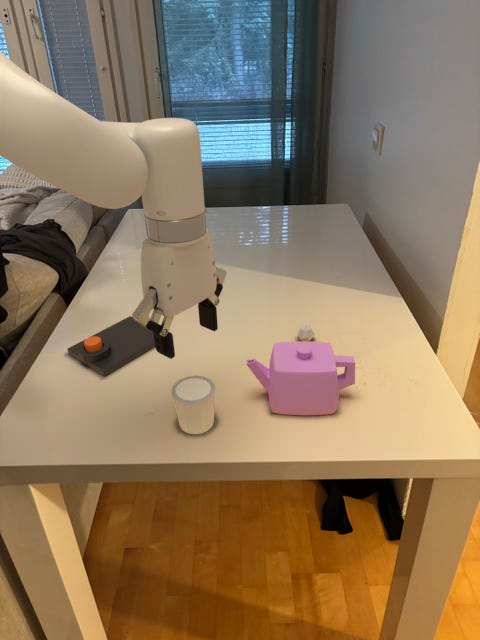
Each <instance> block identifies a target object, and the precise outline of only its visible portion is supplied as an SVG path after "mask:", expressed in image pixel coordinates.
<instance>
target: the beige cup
mask: <svg viewBox="0 0 480 640" xmlns="http://www.w3.org/2000/svg"><path fill="white" fill-rule="evenodd" d="M170 391H171V397H172V401H173V405H174V408H175V412H176V416H177V417H176V418H177V420H178V425H179V427H180V429H181V430H182V432H184V433H186V434H189V435H201V434H204V433H206V432H208V431H209V430H210V429H211V428H213V426H214V422H215V405H216V386H215V383H214V382H213V380H211V379H210V378H209V377H206V376H203V375H190V376H189V375H188V376H185V377H183V378H180V379H178V380H177V381H176V382H175V383H173V385H172V387H171V389H170Z"/></svg>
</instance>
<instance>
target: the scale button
mask: <svg viewBox="0 0 480 640" xmlns="http://www.w3.org/2000/svg"><path fill="white" fill-rule="evenodd" d="M92 336H93V335H92ZM85 339H86V340H85ZM85 339H84V340H85V341H84V345H85V349H86V351H87V352H96V351H99V350H101V349H102V347H103V346H102V341H101V338H100V337H97V336H93V337H91V336H89V337H87V338H85Z"/></svg>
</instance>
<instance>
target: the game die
mask: <svg viewBox="0 0 480 640" xmlns="http://www.w3.org/2000/svg"><path fill="white" fill-rule="evenodd" d="M296 333H297V337H298V338H299V341H308V342H311V340H312V339H313V338H314V336H315V332H314V330H313V328H312V326H311V325H310V324H302V325H301V327H300V328H299V330H298V331H297V332H296Z"/></svg>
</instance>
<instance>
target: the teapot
mask: <svg viewBox="0 0 480 640" xmlns="http://www.w3.org/2000/svg"><path fill="white" fill-rule="evenodd" d="M246 366H247V368H248V369H249V370H250V371H251V373H252V374H253V375H254V377H255V378H256V379H257V381H258V382H259V384H260V385H261V386H262V387H263V389H265V391H266V392H267V394H268V401H269V402H268V404H269V407H270V411H271V412H272V413H274V414H279V415H290V416H325V415H333V414H335V413H336V411H337V410H338V407H339V401H340V390H343V389H345V388H348V387H350V386H353V385H355V384H356V360H355V357H354V355H335V353H334V349H333V346H332V344H331V343H330V342H324V341H309V342H308V341H301V340H299V341H295V340H293V341H277V342H274V344H273V346H272V350H271V354H270V359H269V366H268V367H269V368H268V367H266V366H265V365H264V364H262V363H261V362H259V361H258V360H257V359H256V358H250V359H246ZM338 368H344V371H343V372H342V373H340V374H338Z"/></svg>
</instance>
